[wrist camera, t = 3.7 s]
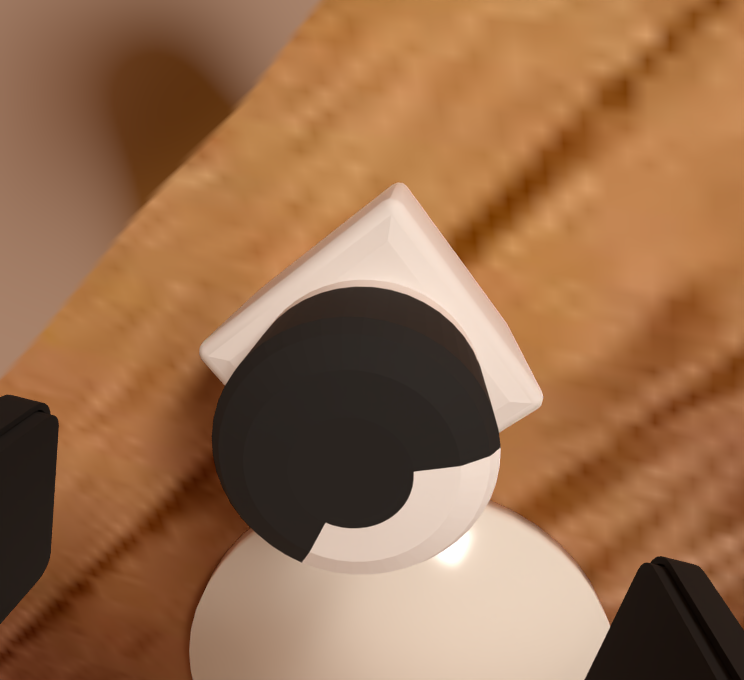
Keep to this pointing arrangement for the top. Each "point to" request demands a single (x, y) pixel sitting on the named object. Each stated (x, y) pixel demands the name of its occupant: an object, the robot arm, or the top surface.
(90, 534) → the top surface
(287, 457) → the medicine bottle
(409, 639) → the dish
